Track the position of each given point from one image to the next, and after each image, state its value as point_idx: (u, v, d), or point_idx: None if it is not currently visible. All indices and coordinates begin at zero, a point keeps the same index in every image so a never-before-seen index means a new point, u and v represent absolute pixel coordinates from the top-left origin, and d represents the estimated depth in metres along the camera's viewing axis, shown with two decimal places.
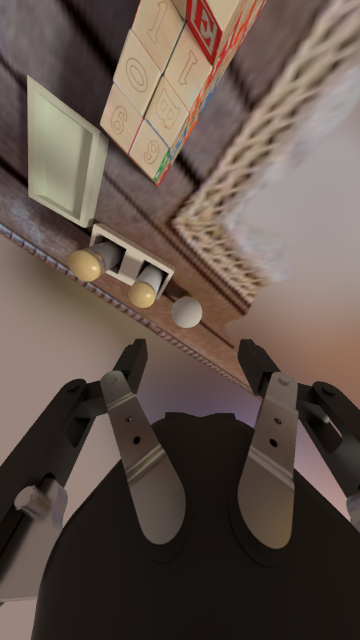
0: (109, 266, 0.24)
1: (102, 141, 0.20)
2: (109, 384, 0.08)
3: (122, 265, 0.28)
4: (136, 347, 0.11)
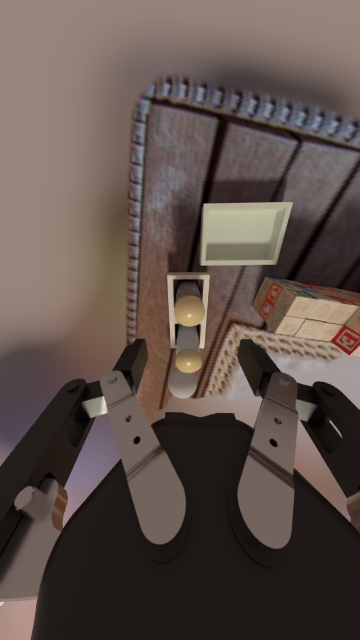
0: None
1: None
2: (109, 384, 0.08)
3: None
4: (136, 347, 0.11)
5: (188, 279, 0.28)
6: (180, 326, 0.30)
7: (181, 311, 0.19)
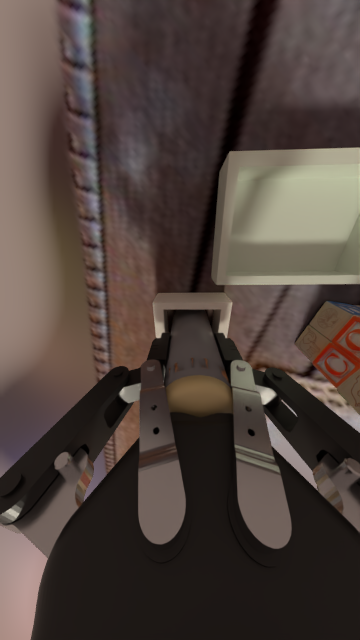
0: None
1: None
2: (150, 371, 0.09)
3: None
4: (164, 340, 0.12)
5: None
6: None
7: None
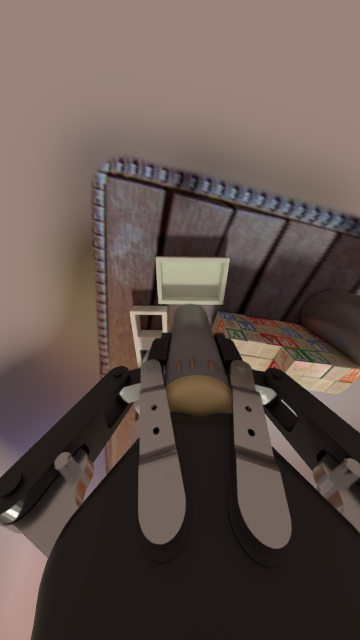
0: None
1: None
2: (150, 371, 0.09)
3: (148, 338, 0.31)
4: (164, 340, 0.12)
5: (191, 305, 0.16)
6: (146, 351, 0.34)
7: None
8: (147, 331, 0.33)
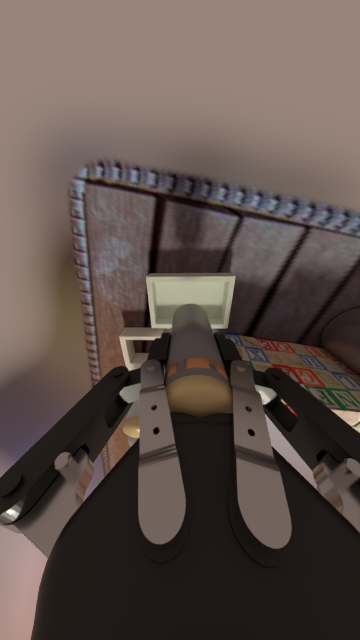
0: None
1: None
2: (150, 371, 0.09)
3: (141, 364, 0.27)
4: (164, 340, 0.12)
5: (191, 304, 0.16)
6: None
7: None
8: (141, 355, 0.29)
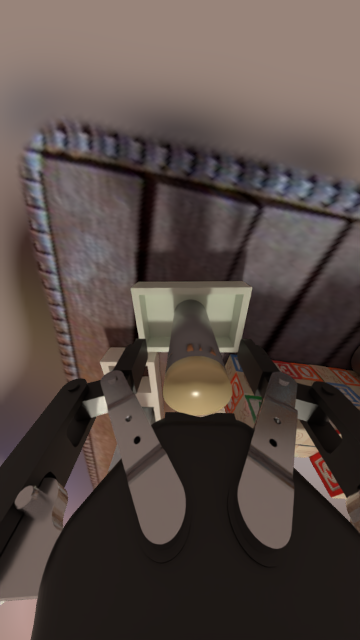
0: None
1: None
2: (110, 384, 0.08)
3: None
4: (136, 347, 0.11)
5: (191, 300, 0.17)
6: None
7: (179, 391, 0.09)
8: None
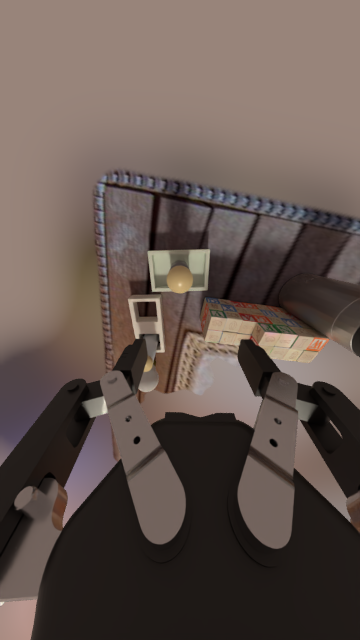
0: None
1: None
2: (109, 384, 0.08)
3: (145, 323, 0.36)
4: (136, 347, 0.11)
5: (180, 260, 0.31)
6: (144, 335, 0.39)
7: (172, 279, 0.22)
8: (144, 317, 0.38)
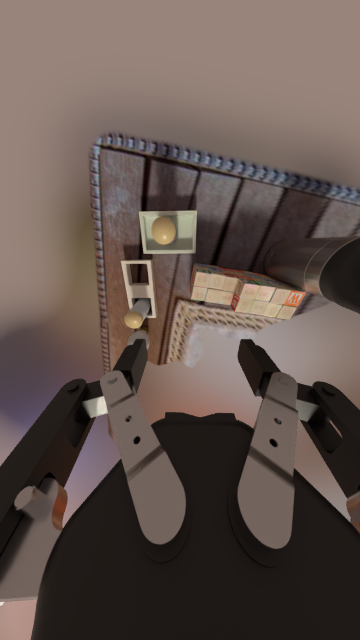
0: None
1: None
2: (109, 384, 0.08)
3: (137, 286, 0.38)
4: (136, 347, 0.11)
5: None
6: (137, 301, 0.41)
7: (157, 229, 0.25)
8: (137, 283, 0.40)
